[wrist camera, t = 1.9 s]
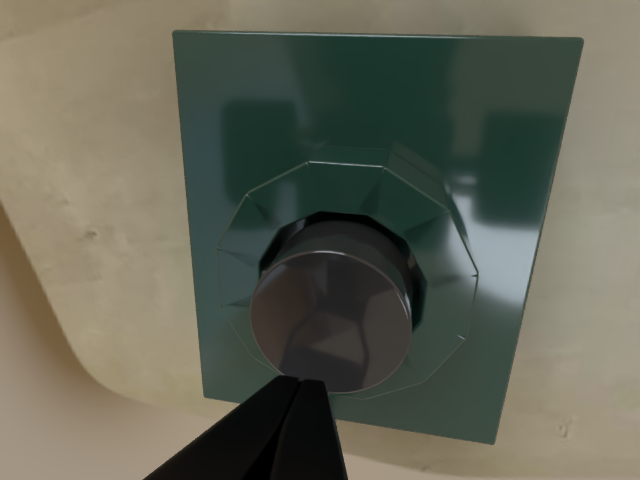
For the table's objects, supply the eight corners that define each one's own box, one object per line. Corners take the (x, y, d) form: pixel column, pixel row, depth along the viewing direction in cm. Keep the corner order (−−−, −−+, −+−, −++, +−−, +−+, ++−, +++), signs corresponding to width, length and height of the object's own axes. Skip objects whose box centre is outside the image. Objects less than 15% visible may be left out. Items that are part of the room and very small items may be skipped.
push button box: (479, 369, 18) (506, 501, 13) (241, 336, 20) (175, 441, 14) (541, 43, 14) (623, 32, 8) (228, 36, 15) (125, 23, 10)
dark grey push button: (405, 352, 12) (404, 405, 10) (275, 335, 13) (250, 382, 11) (420, 225, 11) (421, 259, 9) (273, 212, 11) (245, 242, 10)
